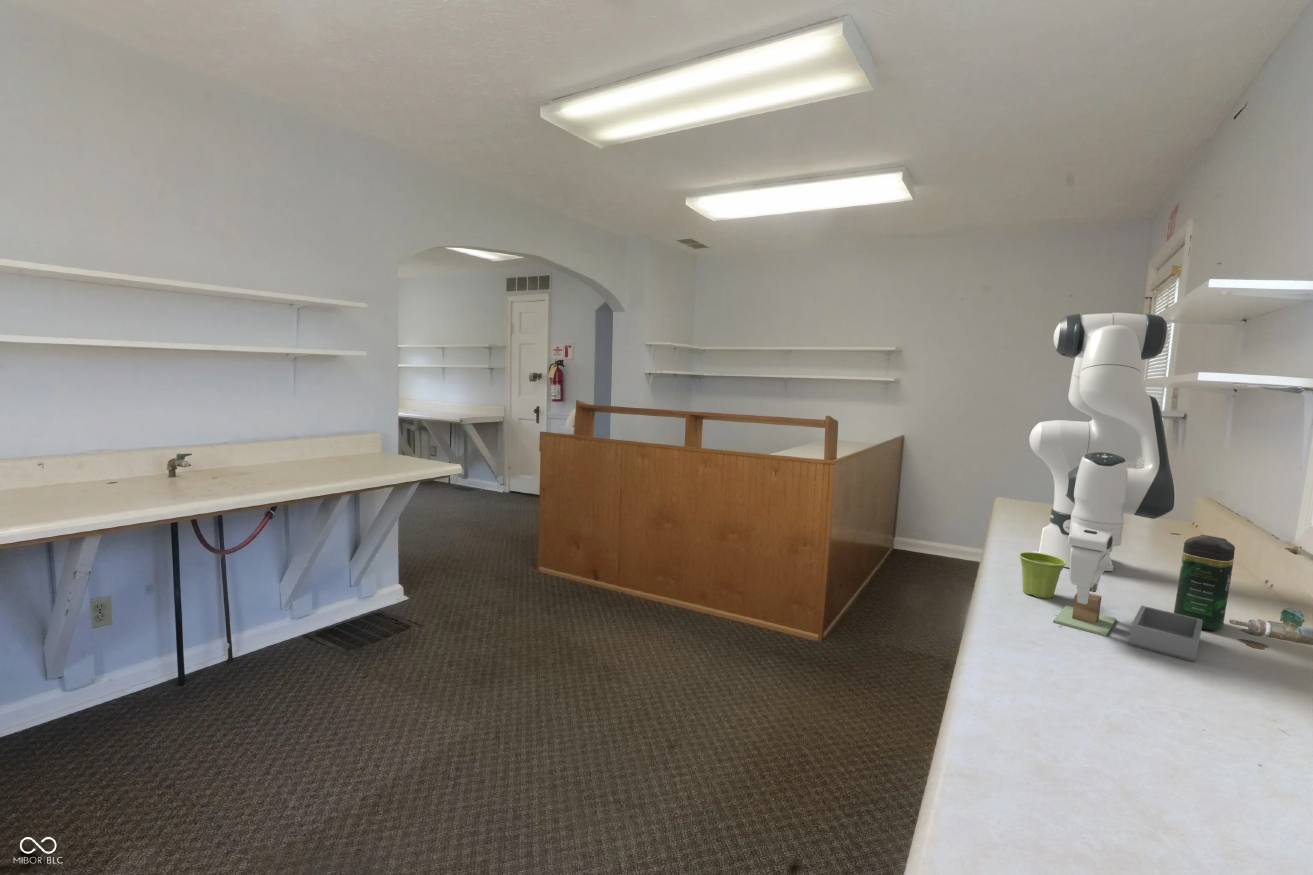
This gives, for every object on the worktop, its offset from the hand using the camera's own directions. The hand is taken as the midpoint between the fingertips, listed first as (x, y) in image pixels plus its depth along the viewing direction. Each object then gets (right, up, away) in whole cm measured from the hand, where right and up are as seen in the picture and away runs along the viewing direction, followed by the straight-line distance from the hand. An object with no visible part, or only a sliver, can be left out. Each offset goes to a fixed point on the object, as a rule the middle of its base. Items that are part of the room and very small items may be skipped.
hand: (1087, 596), depth 129 cm
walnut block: (0, -5, 0) cm, 5 cm away
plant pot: (-1, -4, +16) cm, 16 cm away
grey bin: (+9, -7, -9) cm, 14 cm away
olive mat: (0, -5, 0) cm, 5 cm away
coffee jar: (+24, -6, +1) cm, 25 cm away
